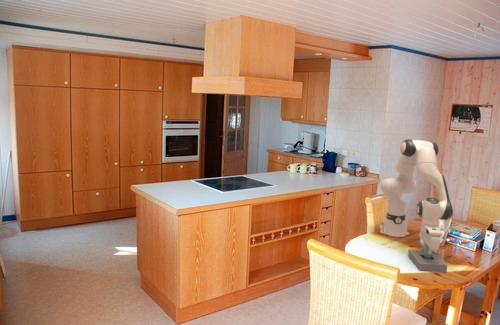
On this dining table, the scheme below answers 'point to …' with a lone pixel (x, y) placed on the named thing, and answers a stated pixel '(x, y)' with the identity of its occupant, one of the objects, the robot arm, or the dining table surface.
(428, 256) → the peg
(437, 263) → the hole block
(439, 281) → the dining table surface
